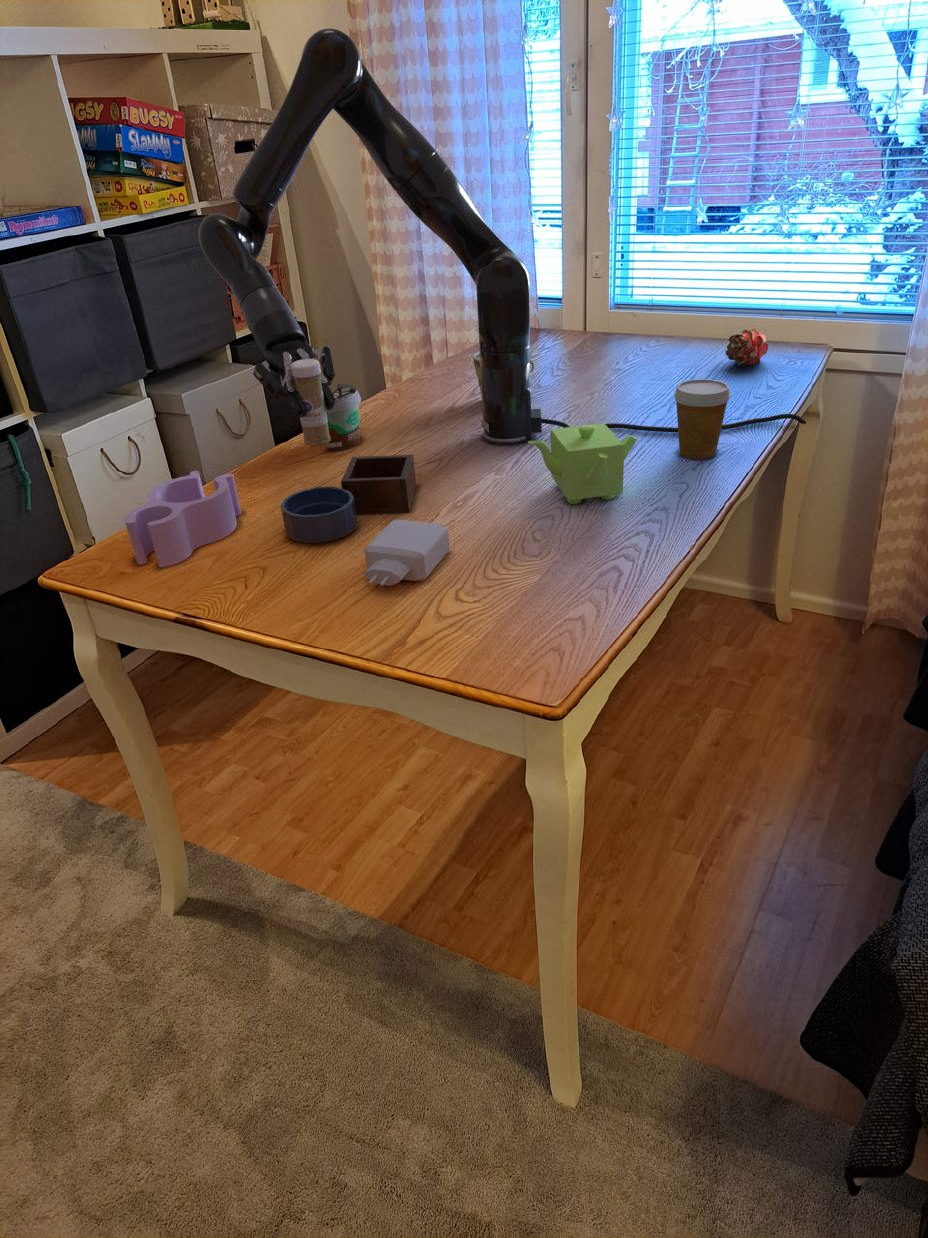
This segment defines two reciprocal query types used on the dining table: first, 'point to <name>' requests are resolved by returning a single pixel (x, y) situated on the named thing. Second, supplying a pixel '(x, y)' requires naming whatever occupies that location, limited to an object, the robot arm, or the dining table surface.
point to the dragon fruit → (747, 347)
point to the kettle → (586, 461)
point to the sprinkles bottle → (311, 401)
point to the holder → (381, 483)
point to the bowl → (319, 514)
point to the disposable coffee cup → (700, 416)
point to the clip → (182, 518)
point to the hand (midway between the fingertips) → (317, 410)
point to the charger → (405, 551)
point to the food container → (344, 418)
